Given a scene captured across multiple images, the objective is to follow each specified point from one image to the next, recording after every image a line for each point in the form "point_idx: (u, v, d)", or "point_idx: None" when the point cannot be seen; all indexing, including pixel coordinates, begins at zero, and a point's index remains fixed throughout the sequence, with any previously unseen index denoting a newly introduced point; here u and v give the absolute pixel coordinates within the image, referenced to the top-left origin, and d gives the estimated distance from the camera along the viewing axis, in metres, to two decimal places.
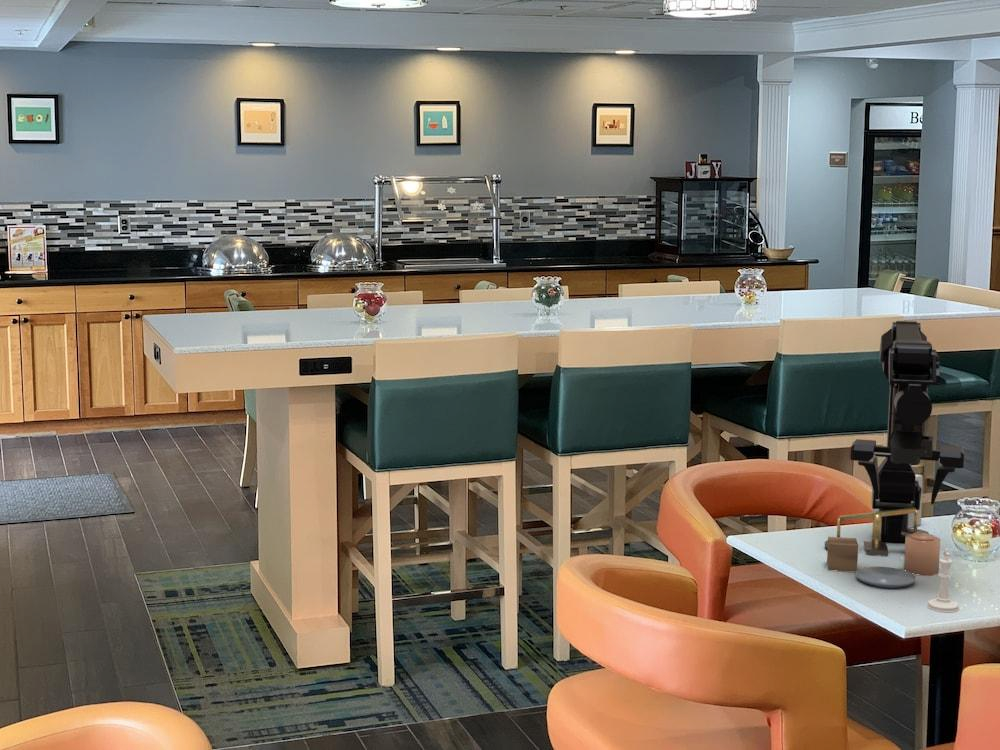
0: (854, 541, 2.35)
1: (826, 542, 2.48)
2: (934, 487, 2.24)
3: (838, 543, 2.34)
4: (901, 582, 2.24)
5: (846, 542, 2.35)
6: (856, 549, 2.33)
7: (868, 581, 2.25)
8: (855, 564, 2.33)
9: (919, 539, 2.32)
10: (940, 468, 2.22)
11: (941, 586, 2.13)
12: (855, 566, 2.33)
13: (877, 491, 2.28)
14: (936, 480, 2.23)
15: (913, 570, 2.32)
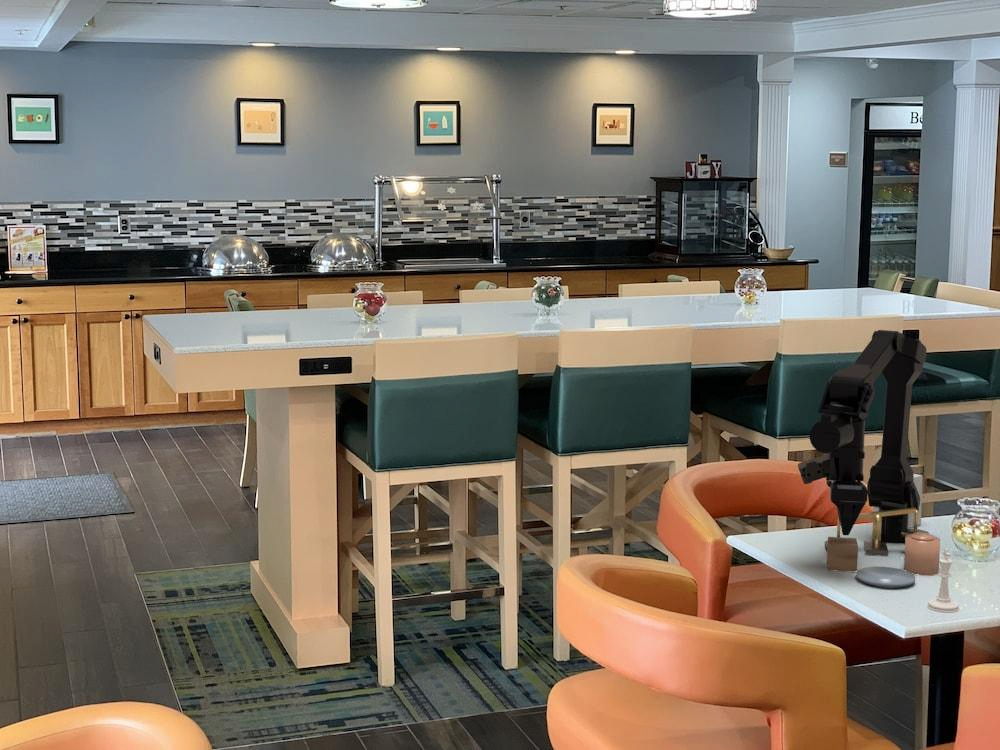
0: (854, 541, 2.35)
1: (826, 542, 2.48)
2: None
3: (838, 543, 2.34)
4: (901, 582, 2.24)
5: (846, 542, 2.35)
6: (855, 549, 2.33)
7: (868, 581, 2.25)
8: (855, 564, 2.33)
9: (919, 539, 2.32)
10: None
11: (941, 586, 2.13)
12: (855, 566, 2.33)
13: (838, 513, 2.40)
14: None
15: (913, 570, 2.32)
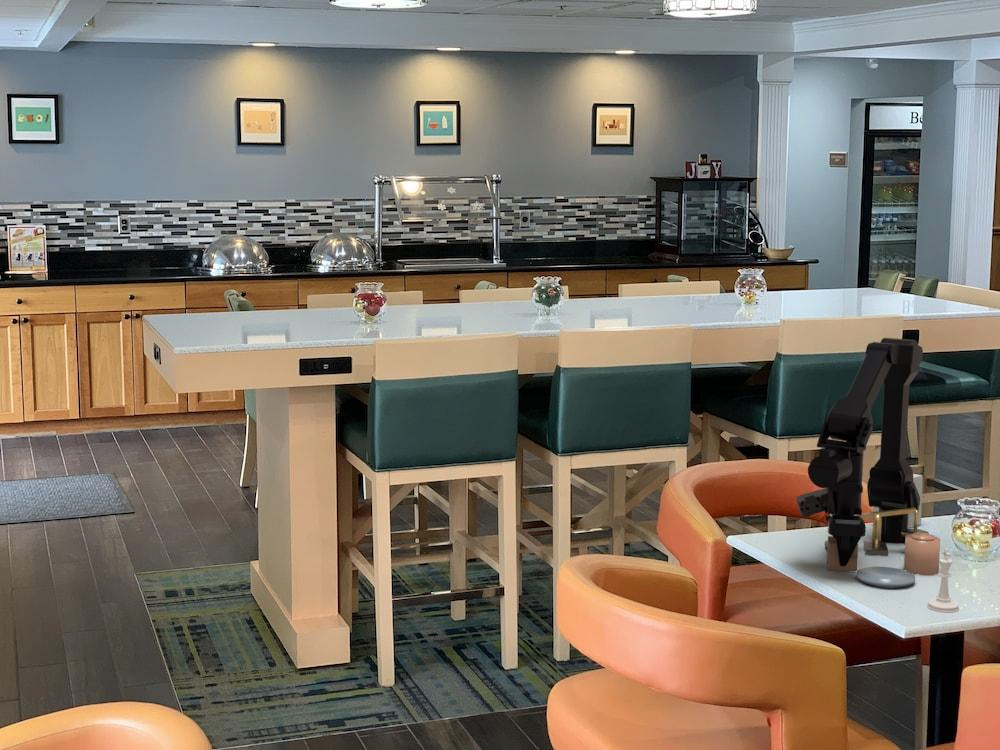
0: None
1: (826, 542, 2.48)
2: (837, 548, 2.33)
3: None
4: (901, 582, 2.24)
5: None
6: (855, 548, 2.33)
7: (868, 581, 2.25)
8: (855, 563, 2.33)
9: (919, 539, 2.32)
10: None
11: (941, 586, 2.13)
12: (855, 565, 2.33)
13: None
14: None
15: (913, 570, 2.32)
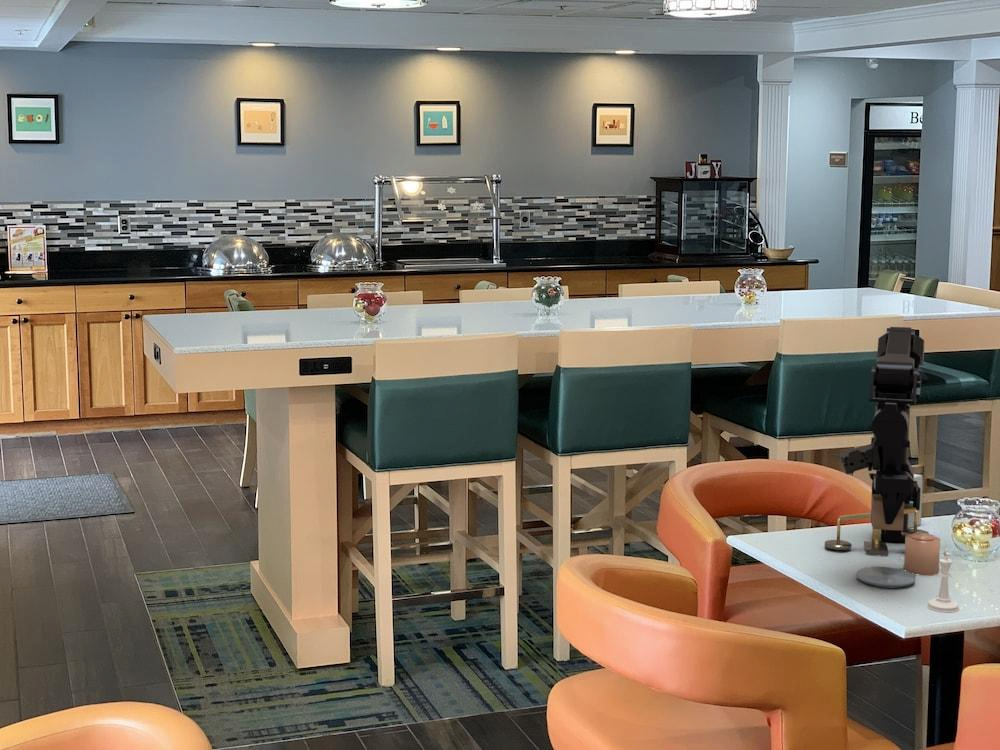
0: None
1: (826, 542, 2.48)
2: None
3: None
4: (901, 582, 2.24)
5: None
6: (902, 506, 2.23)
7: (868, 581, 2.25)
8: (901, 522, 2.24)
9: (919, 539, 2.32)
10: None
11: (941, 586, 2.13)
12: (901, 524, 2.24)
13: None
14: None
15: (913, 570, 2.32)
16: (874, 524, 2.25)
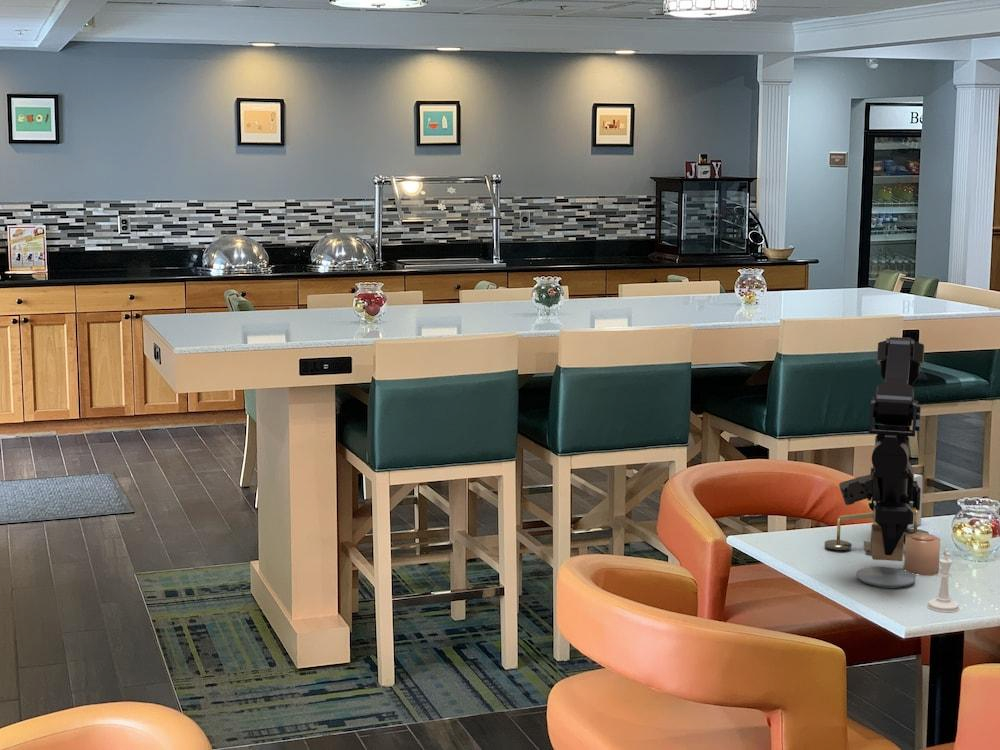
0: None
1: (826, 542, 2.48)
2: (882, 536, 2.24)
3: None
4: (901, 582, 2.24)
5: None
6: None
7: (868, 581, 2.25)
8: (901, 552, 2.25)
9: (919, 539, 2.32)
10: None
11: (941, 586, 2.13)
12: (901, 554, 2.25)
13: None
14: None
15: (913, 570, 2.32)
16: (874, 555, 2.26)
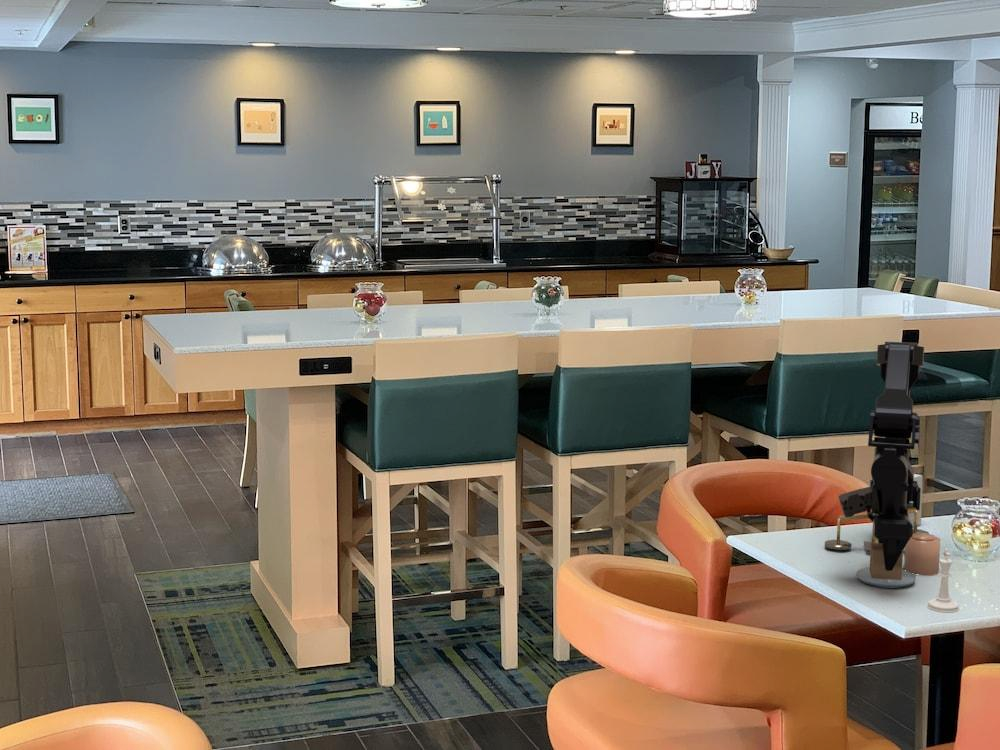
0: None
1: (826, 542, 2.48)
2: None
3: (882, 550, 2.26)
4: (901, 582, 2.24)
5: None
6: (900, 555, 2.25)
7: (868, 581, 2.25)
8: (900, 571, 2.25)
9: (919, 539, 2.32)
10: None
11: (941, 586, 2.13)
12: (900, 573, 2.25)
13: None
14: None
15: (913, 570, 2.32)
16: (873, 573, 2.26)
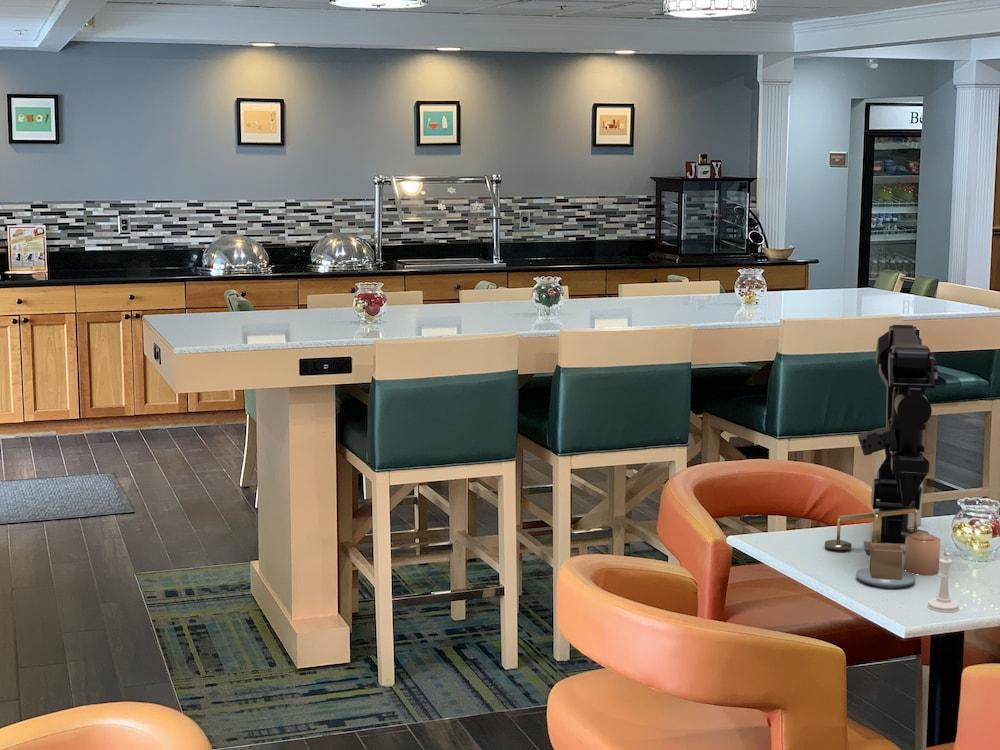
0: (898, 547, 2.27)
1: (826, 542, 2.48)
2: (900, 488, 2.32)
3: (882, 550, 2.26)
4: (901, 582, 2.24)
5: (890, 549, 2.26)
6: (900, 555, 2.25)
7: (868, 581, 2.25)
8: (900, 571, 2.25)
9: (919, 539, 2.32)
10: None
11: (941, 586, 2.13)
12: (900, 573, 2.25)
13: (896, 484, 2.41)
14: (899, 481, 2.31)
15: (913, 570, 2.32)
16: (873, 573, 2.26)
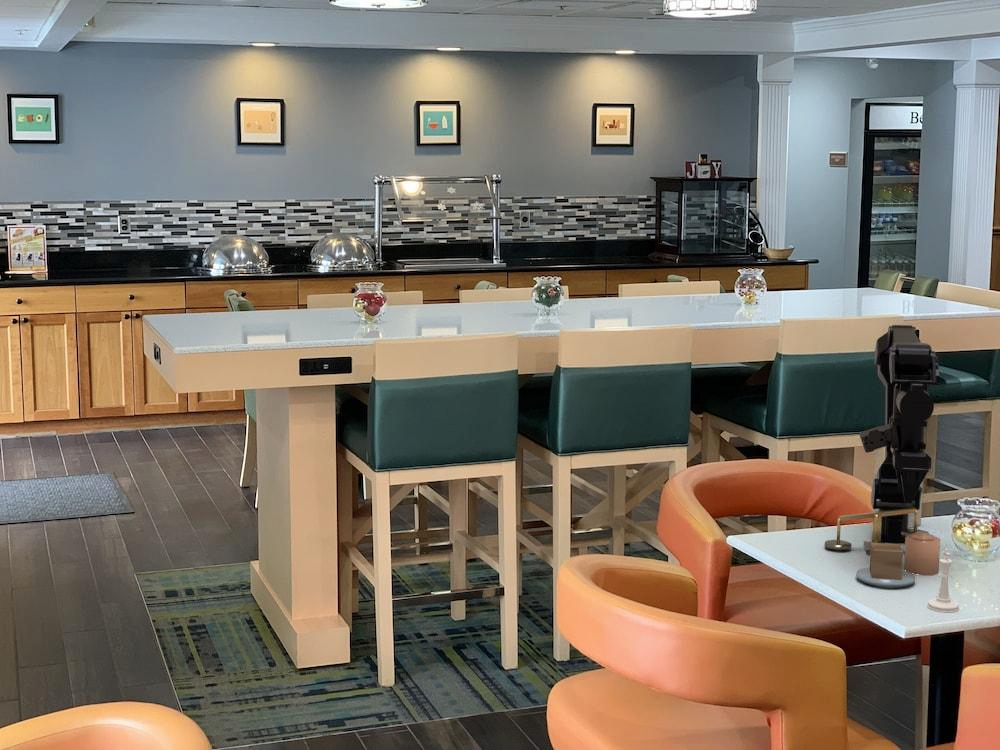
0: (898, 547, 2.27)
1: (826, 542, 2.48)
2: (902, 485, 2.32)
3: (882, 550, 2.26)
4: (901, 582, 2.24)
5: (890, 549, 2.26)
6: (900, 555, 2.25)
7: (868, 581, 2.25)
8: (900, 571, 2.25)
9: (919, 539, 2.32)
10: None
11: (941, 586, 2.13)
12: (900, 573, 2.25)
13: (898, 482, 2.42)
14: (901, 478, 2.32)
15: (913, 570, 2.32)
16: (873, 573, 2.26)
